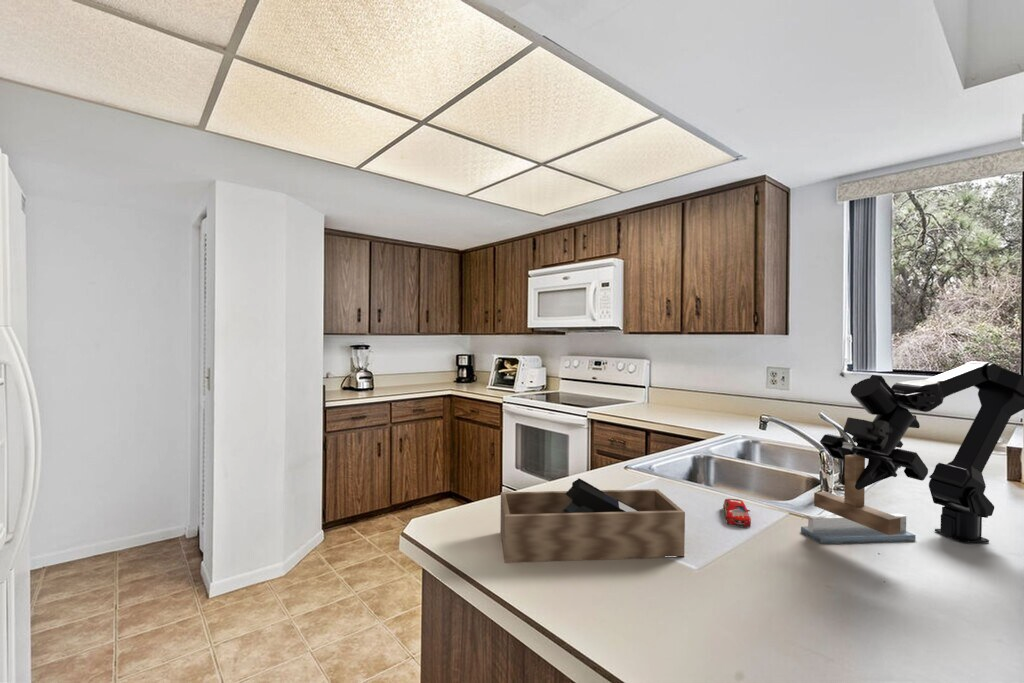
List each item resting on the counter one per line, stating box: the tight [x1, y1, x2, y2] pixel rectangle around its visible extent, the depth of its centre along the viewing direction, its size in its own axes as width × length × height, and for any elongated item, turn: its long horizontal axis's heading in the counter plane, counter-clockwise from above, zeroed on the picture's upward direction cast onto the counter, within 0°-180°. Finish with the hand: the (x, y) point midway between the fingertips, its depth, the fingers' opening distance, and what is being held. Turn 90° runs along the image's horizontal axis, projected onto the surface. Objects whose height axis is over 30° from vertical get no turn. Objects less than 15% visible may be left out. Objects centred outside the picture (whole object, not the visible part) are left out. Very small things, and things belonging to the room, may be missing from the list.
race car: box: [722, 498, 752, 528], centre depth 115 cm, size 13×5×4 cm, turn 160°
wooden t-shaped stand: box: [813, 455, 901, 535], centre depth 98 cm, size 16×3×13 cm, turn 16°
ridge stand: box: [800, 513, 916, 544], centre depth 105 cm, size 22×6×4 cm, turn 95°
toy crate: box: [499, 488, 686, 564], centre depth 100 cm, size 36×14×9 cm, turn 95°
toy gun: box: [561, 478, 639, 513], centre depth 102 cm, size 3×24×15 cm, turn 108°
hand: (849, 486), depth 98 cm, fingers closed on wooden t-shaped stand, 2 cm apart
